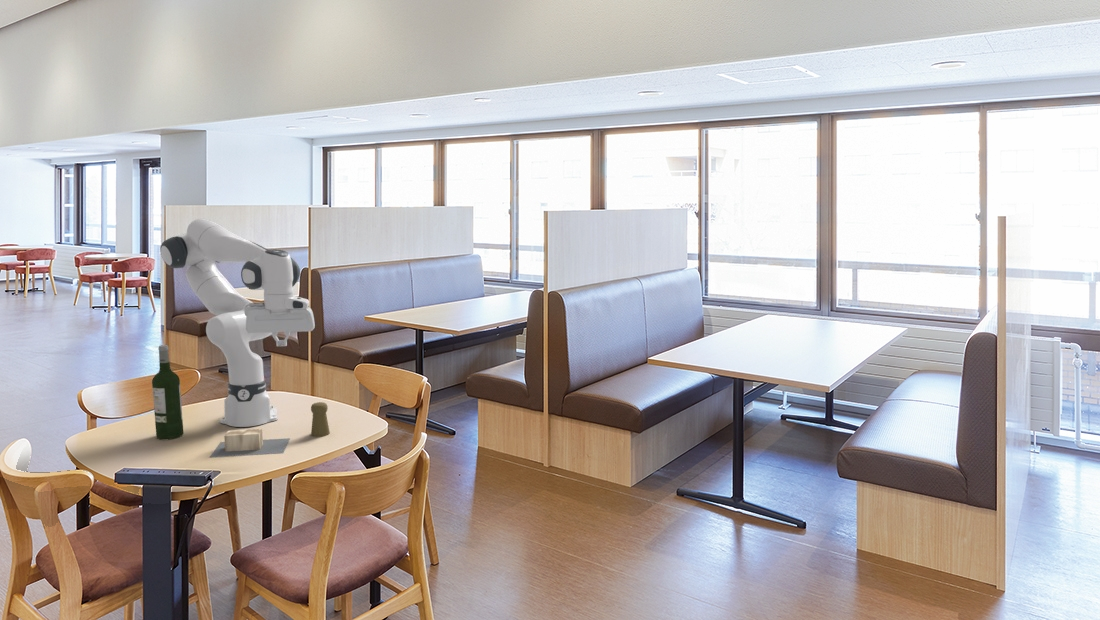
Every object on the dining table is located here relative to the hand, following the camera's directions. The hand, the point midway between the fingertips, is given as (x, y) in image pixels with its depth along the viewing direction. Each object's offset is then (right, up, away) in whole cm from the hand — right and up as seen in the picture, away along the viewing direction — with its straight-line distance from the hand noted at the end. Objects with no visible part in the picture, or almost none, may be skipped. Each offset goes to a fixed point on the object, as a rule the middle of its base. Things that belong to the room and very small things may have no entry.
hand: (281, 346), depth 232 cm
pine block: (-5, -29, -3) cm, 29 cm away
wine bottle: (-40, -30, +9) cm, 51 cm away
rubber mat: (-8, -32, -3) cm, 33 cm away
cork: (+9, -30, +11) cm, 33 cm away
